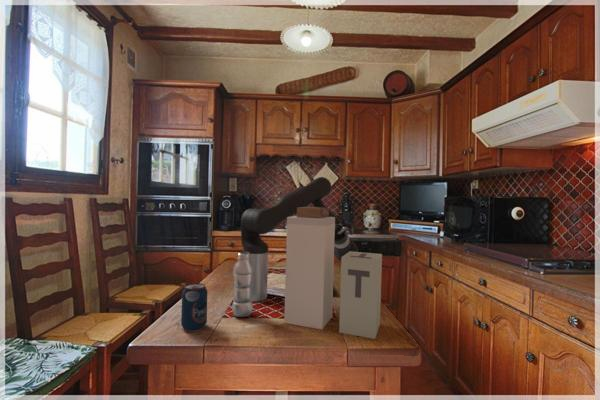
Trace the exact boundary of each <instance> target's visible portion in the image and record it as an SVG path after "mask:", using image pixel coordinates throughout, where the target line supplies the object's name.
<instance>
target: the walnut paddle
mask: <svg viewBox="0 0 600 400" xmlns="http://www.w3.org/2000/svg"><path fill="white" fill-rule="evenodd" d="M329 210H330V209H329ZM329 210H326V208H319V207H314V206H307V207H297V213H296V216H297V217H300V218H324V217H325V216H328V215H329Z"/></svg>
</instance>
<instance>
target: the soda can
mask: <svg viewBox="0 0 600 400" xmlns="http://www.w3.org/2000/svg"><path fill="white" fill-rule="evenodd" d="M183 287H184V288H183V290H182V292H181V322H180V324H181V325H180V326H181V327H182V328H183V330H184V331H185V332H189V333H190V332H192V333H193V332H199V331H201V330H202V329H204V328H205V327H206V325H207V322H208V320H207V319H208V289H207V287H206V284H204V283H200V282H193V283H188V284H185V285H184V286H183Z"/></svg>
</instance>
